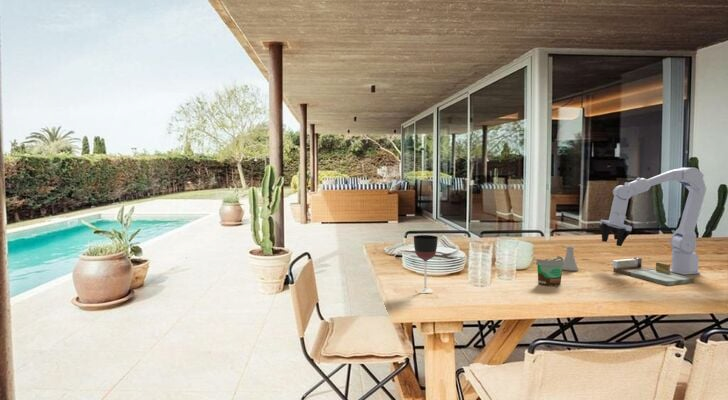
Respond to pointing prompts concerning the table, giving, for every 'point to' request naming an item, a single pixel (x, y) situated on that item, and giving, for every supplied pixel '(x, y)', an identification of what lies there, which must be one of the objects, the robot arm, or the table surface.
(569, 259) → the flask
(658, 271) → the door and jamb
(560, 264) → the food container
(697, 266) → the robot arm
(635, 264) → the lock bar
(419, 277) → the table surface
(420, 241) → the wineglass
